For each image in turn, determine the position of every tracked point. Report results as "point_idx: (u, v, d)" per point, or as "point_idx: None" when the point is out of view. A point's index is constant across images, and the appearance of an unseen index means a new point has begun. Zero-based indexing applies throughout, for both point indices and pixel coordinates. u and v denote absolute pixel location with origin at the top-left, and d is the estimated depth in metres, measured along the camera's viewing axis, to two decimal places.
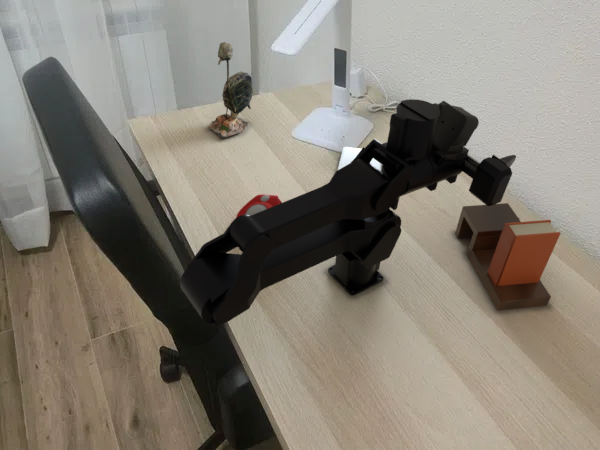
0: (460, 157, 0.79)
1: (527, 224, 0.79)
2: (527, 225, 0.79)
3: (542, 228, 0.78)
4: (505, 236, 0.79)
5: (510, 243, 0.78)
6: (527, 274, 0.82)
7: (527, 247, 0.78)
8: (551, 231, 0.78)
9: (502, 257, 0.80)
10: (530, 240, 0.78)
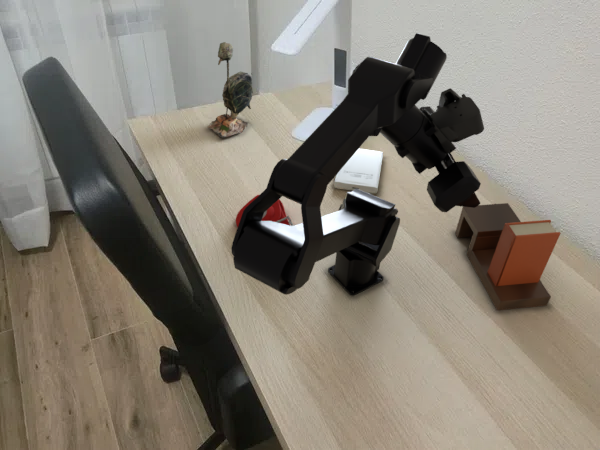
0: (445, 146, 0.74)
1: (527, 224, 0.79)
2: (527, 225, 0.79)
3: (542, 228, 0.78)
4: (505, 236, 0.79)
5: (510, 243, 0.78)
6: (527, 274, 0.82)
7: (527, 247, 0.78)
8: (551, 231, 0.78)
9: (502, 257, 0.80)
10: (530, 240, 0.78)
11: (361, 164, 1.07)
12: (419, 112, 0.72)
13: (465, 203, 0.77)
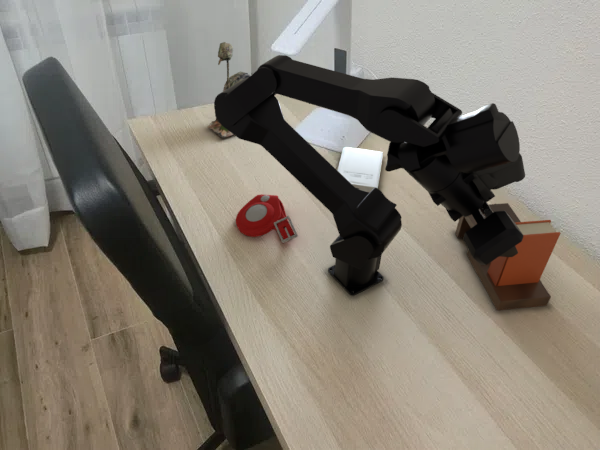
0: (484, 194, 0.69)
1: (527, 224, 0.79)
2: (527, 225, 0.79)
3: (542, 228, 0.78)
4: None
5: None
6: (527, 274, 0.82)
7: (527, 247, 0.78)
8: (551, 231, 0.78)
9: (502, 257, 0.80)
10: (530, 240, 0.78)
11: (361, 164, 1.07)
12: (446, 180, 0.66)
13: (503, 253, 0.72)
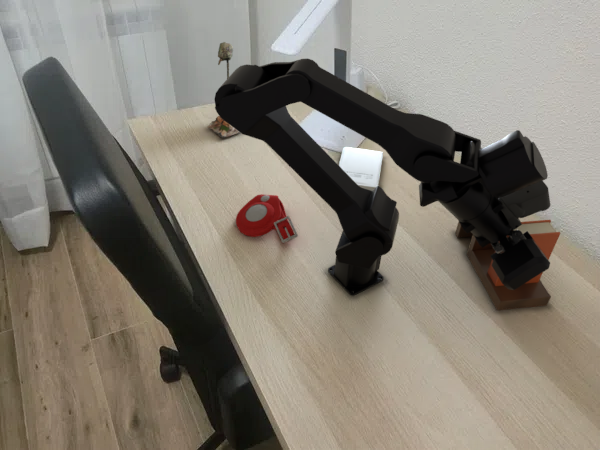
0: (511, 223, 0.73)
1: (527, 224, 0.79)
2: (527, 224, 0.79)
3: (542, 228, 0.78)
4: None
5: None
6: None
7: None
8: (551, 231, 0.78)
9: None
10: None
11: (361, 164, 1.07)
12: (480, 207, 0.70)
13: None
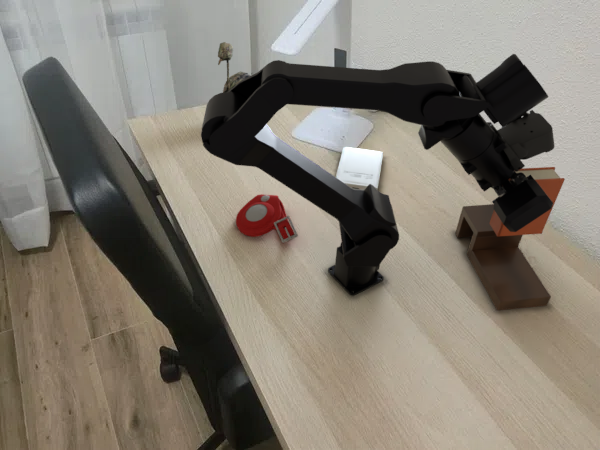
0: (514, 164, 0.71)
1: (530, 170, 0.77)
2: (531, 171, 0.77)
3: (546, 174, 0.77)
4: None
5: None
6: (530, 224, 0.81)
7: None
8: (555, 177, 0.76)
9: None
10: None
11: (361, 164, 1.07)
12: (486, 141, 0.68)
13: None
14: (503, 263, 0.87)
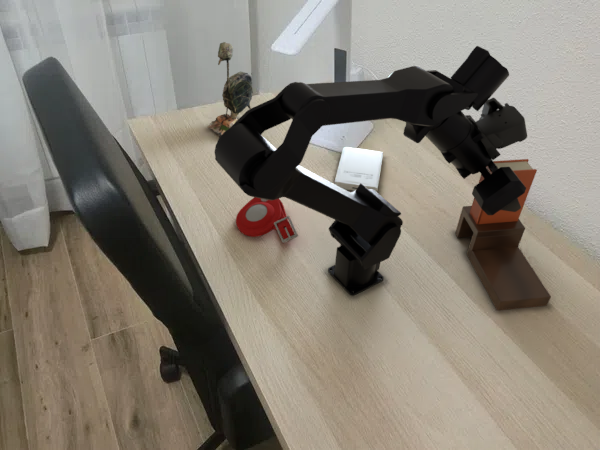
0: (490, 152, 0.77)
1: (506, 163, 0.84)
2: (506, 163, 0.84)
3: (519, 166, 0.83)
4: None
5: None
6: (506, 212, 0.87)
7: None
8: (528, 168, 0.83)
9: None
10: None
11: (361, 164, 1.07)
12: (466, 125, 0.75)
13: (507, 207, 0.81)
14: (503, 263, 0.87)
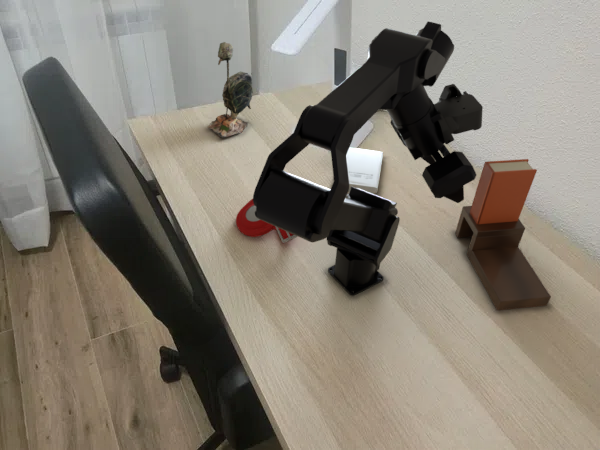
0: (445, 136, 0.76)
1: (506, 163, 0.84)
2: (506, 163, 0.84)
3: (519, 166, 0.83)
4: (485, 174, 0.84)
5: (489, 179, 0.82)
6: (506, 212, 0.87)
7: (505, 184, 0.83)
8: (528, 168, 0.83)
9: (482, 195, 0.85)
10: (508, 177, 0.82)
11: (361, 164, 1.07)
12: (428, 96, 0.74)
13: (452, 196, 0.80)
14: (503, 263, 0.87)
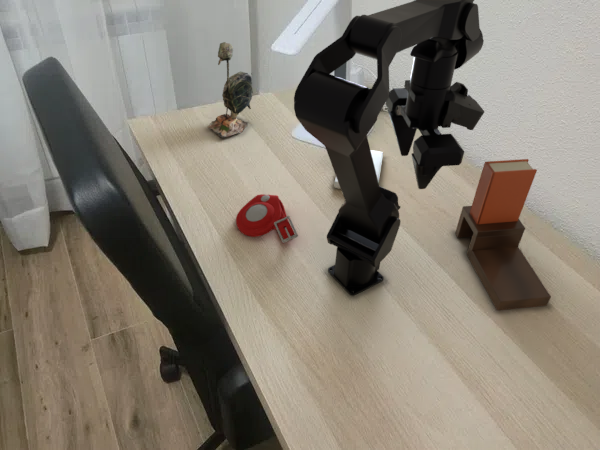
0: (446, 119, 0.79)
1: (506, 163, 0.84)
2: (506, 163, 0.84)
3: (519, 166, 0.83)
4: (485, 174, 0.84)
5: (489, 179, 0.82)
6: (506, 212, 0.87)
7: (505, 184, 0.83)
8: (528, 168, 0.83)
9: (482, 195, 0.85)
10: (508, 177, 0.82)
11: None
12: None
13: (421, 178, 0.82)
14: (503, 263, 0.87)
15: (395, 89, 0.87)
